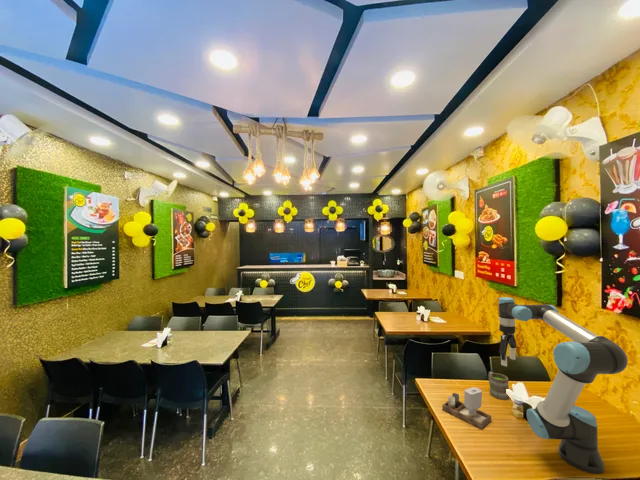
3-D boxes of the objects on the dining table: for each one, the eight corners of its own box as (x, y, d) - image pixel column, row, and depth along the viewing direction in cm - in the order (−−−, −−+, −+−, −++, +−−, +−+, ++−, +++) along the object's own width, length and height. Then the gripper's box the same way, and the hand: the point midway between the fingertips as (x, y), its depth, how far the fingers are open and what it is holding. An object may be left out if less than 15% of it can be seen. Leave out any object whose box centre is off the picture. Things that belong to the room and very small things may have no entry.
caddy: (491, 420, 152) (491, 406, 152) (481, 429, 145) (481, 414, 145) (452, 402, 170) (452, 389, 170) (442, 410, 163) (442, 396, 163)
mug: (513, 399, 172) (512, 380, 173) (496, 399, 173) (495, 380, 173) (497, 386, 188) (497, 369, 188) (481, 387, 188) (481, 369, 188)
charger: (481, 417, 154) (482, 391, 154) (470, 421, 151) (471, 394, 150) (474, 411, 158) (475, 386, 158) (462, 415, 155) (463, 390, 154)
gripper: (507, 319, 167) (508, 354, 166) (491, 327, 151) (492, 366, 151) (521, 322, 161) (523, 358, 160) (507, 330, 145) (508, 370, 145)
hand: (508, 362), depth 155 cm, fingers open, 13 cm apart
